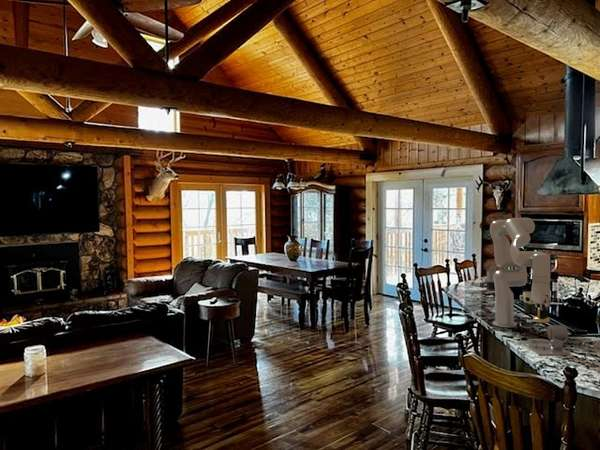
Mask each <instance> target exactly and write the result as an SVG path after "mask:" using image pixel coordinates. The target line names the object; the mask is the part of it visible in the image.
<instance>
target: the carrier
mask: <svg viewBox="0 0 600 450" xmlns="http://www.w3.org/2000/svg"><path fill="white" fill-rule="evenodd" d="M520 344H521V345H523V346H524V347H526V348H528V349H529V350H530V351H532V352H533V353H534V352H535V353H534V354H535V355H537V354H538V355H537V356H565V355H566V356H569V355H570V351H569V350H567V349H565V348H563V347H564V344H563V341H562V340H559V339H551V340H550V339H549V340H548V339H545V338H529V339H527V340H521V343H520Z"/></svg>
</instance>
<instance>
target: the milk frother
mask: <svg viewBox="0 0 600 450" xmlns="http://www.w3.org/2000/svg"><path fill="white" fill-rule="evenodd" d="M496 271H498V270H497V269H487V270H486V281H484V282H481V283H479V285H478V286H479V287H481V288H486V290H491V291H495V284H494V279H493V275H494V273H495V272H496Z"/></svg>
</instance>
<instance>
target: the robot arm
mask: <svg viewBox="0 0 600 450" xmlns="http://www.w3.org/2000/svg"><path fill="white" fill-rule="evenodd" d="M535 226H536V225H535V222H534V221H533V219H531V218H530V217H511V218H508V219H496V220H494V221H492V222H491V223H490V226H489V233H490V238H491V239H492V244H493V253H494V263H495V265H496V266H497V267H499V268H514V269H499V270H498V271H496V272H495V273H494V275H493V279H494V284H495V290H494V293H495V295H494V296H495V298H494V301H495V302H494V303H495V304H494V305H495V309H494V310H495V312H494V314H495V317H494V319H495V320H493V321H492V322H491V323H492V325H493V326H496V327H499V328H508V329H509V328H516V327H517V325H518V324H517V322H515V320H514V319H515V318H514V317H515V316H514V315H515V311H514V310H515V307H514V305H515V303H514V301H515V299H514V298H515V297H514V296H515V295H514V292H513V291H512V290H511V288H510V287H523V286H526V284H527V282H528V272H527V267H532V275H531V276H532V283H531V288H530V289H531V291H530V292H531V300H532V301H534V302H535V303H534V307H535V316H538V307H540V308H541V310H540V318H547V317H548V309H549V307H550V304H551V301H552V299H551V285H550V284H551V255H550V254H549V253H545V252H542V251H539V250H537V251H534V250H533V251H531V250H529V251H527V250H526V251H524V250H523V251H521V250H520V248H523V247H525V246H527V245H528V244H529V243H530V241H531V236H530V234H532V233H534V231H535V229H536V227H535ZM505 235H506V236H507V235H508V236H509V237H510V239H511V241H512V242H511V243H510V241H509V239H508V237H506V236H505Z"/></svg>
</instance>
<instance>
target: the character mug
mask: <svg viewBox="0 0 600 450" xmlns="http://www.w3.org/2000/svg"><path fill="white" fill-rule="evenodd" d="M519 300H520V301H523V303H524V308H523V312H524V313H525V314H526V313H527V314H530V313H531V314H535V313H536V308H535V302H534V301H532V300H531V291H523V292H522V294H520V295H519ZM534 312H535V313H534Z"/></svg>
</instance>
